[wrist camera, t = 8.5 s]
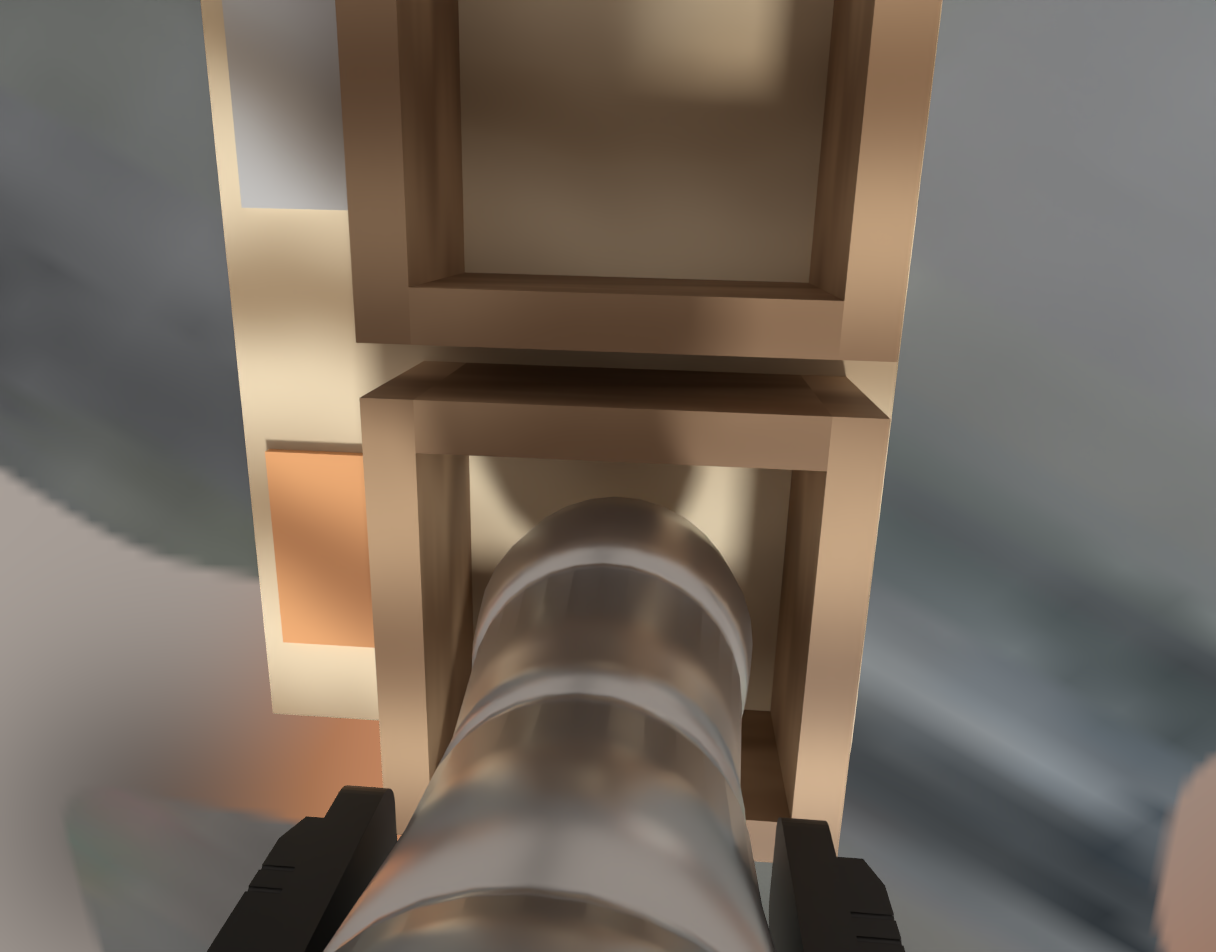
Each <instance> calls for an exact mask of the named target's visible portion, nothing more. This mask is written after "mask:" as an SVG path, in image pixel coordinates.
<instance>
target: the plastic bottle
mask: <svg viewBox="0 0 1216 952" xmlns="http://www.w3.org/2000/svg"><path fill="white" fill-rule="evenodd" d="M752 646H753V643H752V630H751V618H750V615H749V612H748V608H747V605H746V601H745V598H744V594H743V592H742V590H741V588H740V587H739V585H738V583H737V581H736V579H735V577H734V575H733V573H732V572H731V570H730V568H729V566H728V565H727V563H726V561H725V560H724V558H723V556H722V555H721V553H720V552H719V550H718V549H717V548H716V547H715V546H714V544H713V543H712V542H711V541H710V540H709V538H708V537H707V536H706V535H705V534H704V533H703V532H702V531H701V530H700V529H698V528H697V527H696V526H695V525H693V524H692V523H691V522H690V521H689V520H687V519H686V518H684V517H683V516H681V515H679V514H677V513H675V512H673V511H671V510H669V509H668V508H666V507H664V506H661V505H657V504H654V503H651V502H647V501H644V500H641V499H633V498H624V497H606V498H595V499H589V500H585V501H582V502H579V503H575V504H572V505H569V506H566V507H564V508H562V509H561V510H559V511H557V512H555V513H553V514H551V515H549V516H547V517H546V518H545V519H543V520H542V521H541V522H540V523H539V524H538V525H536V526H535V527H534V528H533V529H532V530H530V531H529V532H528V533H527V534H526V535H525V536H523V537H522V538H521V539H520V540H519V541H518V542H517V543H516V544H514V545H513V546H512V547H511V549H510V550H509V551H508V552H507V554H506V555H505V556H504V558H503V559H502V560H501V561H500V563H499V564H498V565H497V566H496V568H495V570H494V572H493V574H492V576H491V578H490V580H489V583H488V585H487V587H486V589H485V592H484V596H483V600H482V604H481V608H480V612H479V616H478V621H477V625H476V630H475V635H474V640H473V650H472V671H471V675H470V678H469V682H468V685H467V689H466V692H465V696H464V699H463V703H462V706H461V710H460V713H459V717H458V720H457V724H456V727H455V731H454V734H453V738H452V740H451V742H450V744H449V746H448V747H447V749H446V751H445V753H444V755H443V757H442V759H441V761H440V763H439V765H438V767H437V769H436V771H435V773H434V775H433V777H432V778H431V780H430V782H429V784H428V786H427V788H426V790H425V792H424V794H423V796H422V798H421V800H420V802H419V804H418V806H417V808H416V810H415V812H414V814H413V816H412V817H411V819H410V821H409V823H408V825H407V827H406V829H405V831H404V832H403V834H402V836H401V837H400V838H399V840H398V841H397V843H396V844H395V846H394V847H393V849H392V850H391V852H390V853H389V855H388V856H387V858H386V859H385V861H384V862H383V864H382V865H381V866H380V868H379V869H378V871H377V872H376V874H375V875H374V877H373V878H372V880H371V881H370V883H369V884H368V886H367V887H366V889H365V890H364V892H363V893H362V895H361V896H360V898H359V899H358V901H357V902H356V903H355V905H354V906H353V908H352V909H351V911H350V912H349V914H348V915H347V917H346V918H345V920H344V921H343V923H342V924H341V926H340V927H339V929H338V930H337V932H336V933H335V935H334V936H333V938H332V939H331V941H330V942H329V943H328V945H327V946H326V948H325V949H324V951H323V952H776V951H775V948H774V945H773V941H772V938H771V935H770V931H769V928H768V924H767V921H766V918H765V914H764V911H763V908H762V903H761V898H760V892H759V887H758V881H757V875H756V870H755V864H754V859H753V853H752V847H751V842H750V836H749V832H748V829H747V825H746V819H745V808H744V803H743V798H742V792H741V787H740V783H741V726H742V715H743V711H744V707H745V703H746V700H747V693H748V685H749V678H750V669H751V658H752Z"/></svg>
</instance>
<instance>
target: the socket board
mask: <svg viewBox="0 0 1216 952" xmlns="http://www.w3.org/2000/svg"><path fill="white" fill-rule="evenodd" d="M200 1H201V10H202V20H203V30H204V40H205V50H206V60H207V69H208V79H209V89H210V99H211V109H212V119H213V128H214V138H215V148H216V158H217V168H218V177H219V187H220V197H221V207H222V217H223V227H224V236H225V246H226V256H227V266H228V276H229V285H230V295H231V305H232V315H233V325H234V335H235V344H236V354H237V364H238V374H239V384H240V394H241V403H242V413H243V423H244V433H245V443H246V452H247V462H248V472H249V482H250V492H251V502H252V511H253V521H254V531H255V541H256V551H257V561H258V570H259V580H260V590H261V599H262V610H263V619H264V628H265V639H266V649H267V658H268V669H269V678H270V687H271V697H272V707H273V713H276V714H292V715H307V716H322V717H337V718H352V719H367V720H379V728H380V744H381V759H382V774H383V775H382V776H383V788H390V789H392V791H393V793H394V797H395V810H396V828H397V835H402V834H403V832H404V831H405V829H406V827H407V825H408V823H409V821H410V819H411V817H412V816H413V814H414V812H415V810H416V808H417V806H418V804H419V802H420V800H421V798H422V796H423V794H424V792H425V790H426V788H427V786H428V784H429V782H430V780H431V778H432V777H433V775H434V773H435V771H436V769H437V767H438V765H439V763H440V761H441V759H442V757H443V755H444V753H445V751H446V749H447V747H448V746H449V744H450V742H451V740H452V738H453V734H454V731H455V727H456V724H457V720H458V717H459V713H460V710H461V706H462V703H463V699H464V696H465V692H466V689H467V685H468V682H469V678H470V675H471V671H472V650H473V640H474V635H475V630H476V625H477V621H478V616H479V612H480V608H481V604H482V600H483V596H484V592H485V589H486V587H487V585H488V583H489V580H490V578H491V576H492V574H493V572H494V570H495V568H496V566H497V565H498V564H499V563H500V561H501V560H502V559H503V558H504V556H505V555H506V554H507V552H508V551H509V550H510V549H511V547H512V546H513V545H514V544H516V543H517V542H518V541H519V540H520V539H521V538H522V537H523V536H525V535H526V534H527V533H528V532H529V531H530V530H532V529H533V528H534V527H535V526H536V525H538V524H539V523H540V522H541V521H542V520H543V519H545V518H546V517H547V516H549V515H551V514H553V513H555V512H557V511H559V510H561V509H562V508H564V507H566V506H569V505H572V504H575V503H579V502H582V501H585V500H589V499H595V498H606V497H624V498H633V499H641V500H644V501H647V502H651V503H654V504H657V505H661V506H664V507H666V508H668V509H669V510H671V511H673V512H675V513H677V514H679V515H681V516H683V517H684V518H686V519H687V520H689V521H690V522H691V523H692V524H693V525H695V526H696V527H697V528H698V529H700V530H701V531H702V532H703V533H704V534H705V535H706V536H707V537H708V538H709V540H710V541H711V542H712V543H713V544H714V546H715V547H716V548H717V549H718V550H719V552H720V553H721V555H722V556H723V558H724V560H725V561H726V563H727V565H728V566H729V568H730V570H731V572H732V573H733V575H734V577H735V579H736V581H737V583H738V585H739V587H740V588H741V590H742V592H743V594H744V598H745V601H746V605H747V608H748V612H749V615H750V618H751V630H752V643H753V646H752V658H751V669H750V678H749V685H748V693H747V700H746V703H745V707H744V711H743V715H742V726H741V783H740V787H741V792H742V798H743V803H744V808H745V819H746V825H747V829H748V832H749V836H750V842H751V847H752V853H753V859H754V861H758V862H772V863H773V856H774V846H775V835H776V826H777V821H778V818H779V817H782V818H796V819H810V820H824V821H827V822H828V825H829V828H830V832H831V836H832V840H833V844H834V848H835V852H836V856H837V854H838V846H839V838H840V830H841V821H842V813H843V805H844V797H845V789H846V781H847V772H848V764H849V756H850V751H851V744H852V736H853V728H854V719H855V711H856V703H857V695H858V687H859V679H860V670H861V662H862V654H863V646H864V638H865V630H866V621H867V613H868V605H869V597H870V589H871V581H872V572H873V564H874V556H875V548H876V540H877V532H878V523H879V515H880V507H881V499H882V491H883V483H884V474H885V466H886V458H887V450H888V442H889V434H890V425H891V417H892V409H893V401H894V393H895V385H896V376H897V368H898V360H899V352H900V344H901V336H902V327H903V319H904V311H905V303H906V295H907V287H908V278H909V270H910V262H911V254H912V246H913V238H914V229H915V221H916V213H917V205H918V197H919V189H920V180H921V172H922V164H923V156H924V148H925V140H926V131H927V123H928V115H929V107H930V99H931V91H932V82H933V74H934V66H935V58H936V50H937V42H938V34H939V25H940V17H941V9H942V1H943V0H200Z"/></svg>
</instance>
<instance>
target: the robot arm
mask: <svg viewBox="0 0 1216 952" xmlns="http://www.w3.org/2000/svg"><path fill="white" fill-rule="evenodd" d="M396 843H397V828H396V810H395V797H394V793H393V791H392V789H390V788H376V787H362V786H344V787H343V788H342V789H341V790H340V792H339V793H338V795H337V797H336V799H335V800H334V802H333V804H332V806H331V807H330V809H329V810H328V812H327V814H326V816H325V817H324V818H318V817H305V818H304V819H303V820H301V821H300V822H299V823H298V824H296V825H295V826H294V827H293V828H291V829H290V830H289V831H288V832H286V833H285V834H284V835H283V836H281V837H280V838H279V839H278V841H277V842H276V844H275V846H274V847H273V849H272V850H271V852H270V853H269V855H268V856H267V858H266V860H265V861H264V863H263V864H262V869H261V870H259V871H258V872H257V874H256V875H255V877H254V878H253V880H252V882H251V883H250V885H249V889H248V891H247V892H246V891H245V893H244V894H243V896H242V897H241V899H240V900H239V902H238V904H237V905H236V907H235V908H234V910H233V911H232V913H231V915H230V916H229V918H228V919H227V921H226V922H225V924H224V926H223V927H222V929H221V930H220V932H219V933H218V935H217V936H216V938H215V940H214V941H213V943H212V944H211V946H210V947H209V949H208V951H207V952H323V951H324V949H325V948H326V946H327V945H328V943H329V942H330V941H331V939H332V938H333V936H334V935H335V933H336V932H337V930H338V929H339V927H340V926H341V924H342V923H343V921H344V920H345V918H346V917H347V915H348V914H349V912H350V911H351V909H352V908H353V906H354V905H355V903H356V902H357V901H358V899H359V898H360V896H361V895H362V893H363V892H364V890H365V889H366V887H367V886H368V884H369V883H370V881H371V880H372V878H373V877H374V875H375V874H376V872H377V871H378V869H379V868H380V866H381V865H382V864H383V862H384V861H385V859H386V858H387V856H388V855H389V853H390V852H391V850H392V849H393V847H394V846H395V844H396ZM769 931H770V935H771V938H772V941H773V945H774V948H775V951H776V952H905V950H904V946H902V944H901V936H900V933H899V930H898V927H897V923H896V921H894V914H893V910H892V907H891V904H890V901H889V897H888V894H887V891H886V888H885V885H884V884H883V883H882V881H881V880H880V879H879V878H878V877H877V875H876V874H875V873H874V872H873V870H872V869H871V868H870V867H869V866H868V864H867V863H866V862H865V861H864V860H863V859H858V858H844V857H837V856H836V852H835V848H834V844H833V840H832V836H831V832H830V828H829V825H828V822H827V821H824V820H810V819H796V818H782V817H779V818H778V821H777V826H776V835H775V846H774V856H773V866H772V877H771V887H770V898H769Z"/></svg>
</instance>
